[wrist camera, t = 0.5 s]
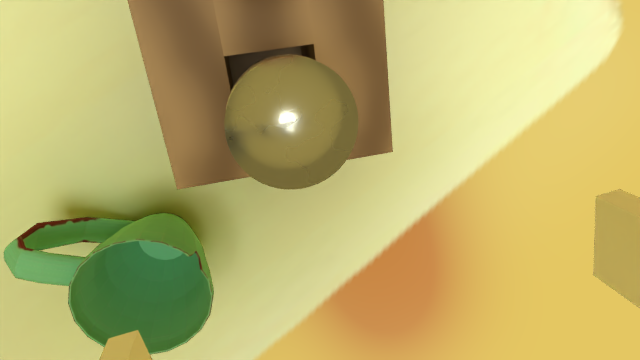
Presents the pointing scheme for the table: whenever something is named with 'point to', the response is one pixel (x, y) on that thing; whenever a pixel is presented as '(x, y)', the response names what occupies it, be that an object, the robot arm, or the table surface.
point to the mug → (123, 276)
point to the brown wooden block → (239, 54)
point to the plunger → (290, 121)
